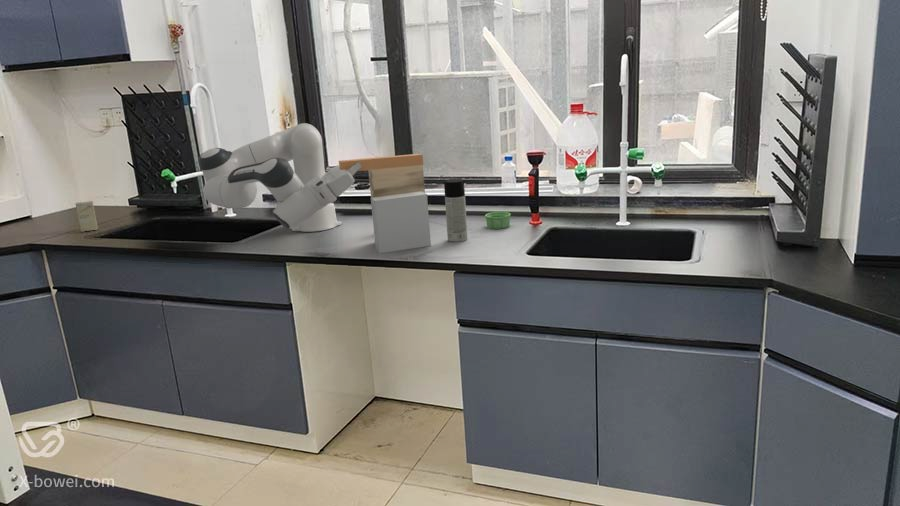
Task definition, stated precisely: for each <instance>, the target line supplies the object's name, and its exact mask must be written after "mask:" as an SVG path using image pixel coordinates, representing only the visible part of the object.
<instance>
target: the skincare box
mask: <svg viewBox="0 0 900 506" xmlns="http://www.w3.org/2000/svg"><path fill="white" fill-rule="evenodd" d="M75 209H76V213H77V217H78V219H77V220H78V224H79V228H80V232H81V231H88V230H97V229H98V230H99V227H98V222H97V218H96V211H95V206H94V201H93V200H89V201H81V202H75ZM98 230H97V231H98Z"/></svg>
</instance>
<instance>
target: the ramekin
mask: <svg viewBox="0 0 900 506" xmlns="http://www.w3.org/2000/svg"><path fill="white" fill-rule="evenodd" d="M485 221H486V227H487V228H489V229H490V230H491V229H492V230H499V229H506V228H508V227H510V223H511V213H510V212H507V211H494V212H493V211H492V212H488V213H486V214H485Z"/></svg>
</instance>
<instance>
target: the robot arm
mask: <svg viewBox="0 0 900 506" xmlns="http://www.w3.org/2000/svg"><path fill="white" fill-rule="evenodd" d="M292 160H293V161H292ZM197 161H198V166H199V169H200V170H201V172H202V175H203V177H204V180H205V183H204V186H203V196H204V198H205V200H206V201H207V202H209V204H212V205H215V206H217V207H221V208H225V209H244V208H247V207H249V206H250V205H252V203H253V202H254V201H255V199H256V198H257V192H258V186H257V182H258V183H261V184H262V185H263V186H264V187H265V188H266V189H267V190H268V191H269V193H271V195H272V196H273V197H274V199H275V201H276V207H275V208H274V209H273V211H272V214H273V216H274V218H275V220H277V221H278V222H279V223H280V225H282V227H284V228H285V229H288V230H291V231H292V232H303V233H306V232H309V233H310V232H321V231H326V230H329V229H330V230H331V229H333V228H335V227H337V226H340V225H342V221H340V220H338V219H337V214H336V209H335V204H334V202H336V201H337V199H338V197H339V196H341V195H342V194H343V193H344V192H346V191H347V190H348V189H349V188H350V187H351V186H352V185H353V184H355V181H356V179H355V178H354V177H353V176H354V175H355V174H356V173H357V172H359V171H358V170H359V169H360V168H361V167H362V166H361V165H360V163H358V162H357V163H356V164H354V165H353V166H352V167H351V168H350V169H348V170H345V169H342V170H340V169H339V164H337V165H335V166H333V167H332V168H331V169H330V170H328V171H327V172H326V171H325V169H326V168H325V157H324V149H323V137H322V135H321V134H320V131H319V130H318V128H316V127H315V126H314V125H312V124H309V123H306V122H304V123H299V124H296V125H294V126H291V127H289V128H286V129H284V130H281V131H278V132H276V133H275V134H271V135H269V136H267V137H264V138H260V139H258V140H255V141H253V142H250V143H248V144H245V145H243V146H241V147H238V148H237V149H234V150H233V151H230V150H226V149H225V148H221V147H214V148H210V149H207V150H205V151H204V152H202V153H201V154H200V155H199V157H198V159H197ZM290 161H292V163H293V167H292V165H291V164H290V163H289V162H290Z"/></svg>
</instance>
